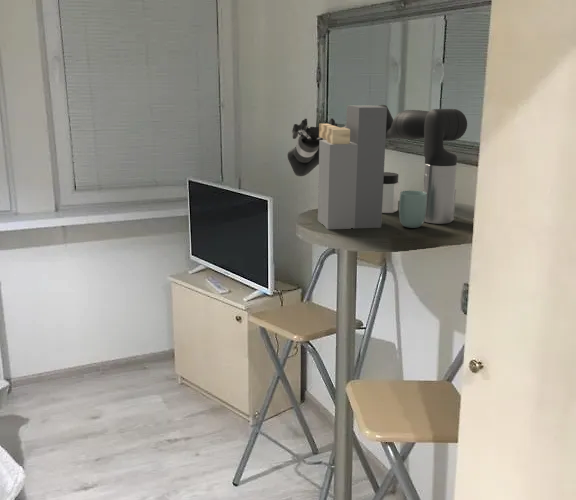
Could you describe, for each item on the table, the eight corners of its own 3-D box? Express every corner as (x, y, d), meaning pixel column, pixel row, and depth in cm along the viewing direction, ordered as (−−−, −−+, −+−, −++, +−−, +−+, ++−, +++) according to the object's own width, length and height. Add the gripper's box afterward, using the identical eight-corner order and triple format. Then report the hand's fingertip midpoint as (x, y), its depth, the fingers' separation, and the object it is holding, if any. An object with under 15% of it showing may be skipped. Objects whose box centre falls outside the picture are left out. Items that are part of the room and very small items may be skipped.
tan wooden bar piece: (314, 136, 200) (315, 123, 199) (330, 136, 201) (331, 123, 200) (332, 144, 180) (332, 129, 179) (349, 143, 181) (350, 129, 180)
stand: (317, 220, 197) (320, 105, 188) (368, 218, 200) (373, 105, 191) (327, 229, 185) (330, 107, 176) (381, 227, 188) (387, 107, 179)
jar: (377, 206, 217) (379, 171, 214) (400, 209, 213) (402, 173, 210) (366, 211, 210) (368, 174, 207) (390, 214, 206) (392, 176, 203)
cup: (425, 230, 186) (427, 195, 183) (397, 228, 187) (399, 194, 184) (425, 224, 193) (427, 191, 190) (398, 222, 194) (400, 189, 192)
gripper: (330, 152, 219) (342, 131, 204) (289, 153, 217) (298, 132, 201) (328, 132, 221) (340, 110, 206) (287, 132, 219) (295, 110, 203)
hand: (319, 121), depth 204 cm, fingers open, 8 cm apart
